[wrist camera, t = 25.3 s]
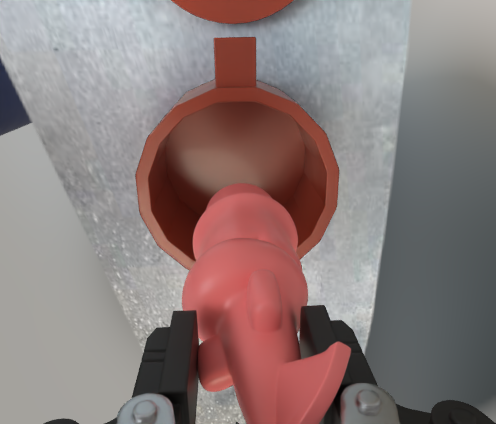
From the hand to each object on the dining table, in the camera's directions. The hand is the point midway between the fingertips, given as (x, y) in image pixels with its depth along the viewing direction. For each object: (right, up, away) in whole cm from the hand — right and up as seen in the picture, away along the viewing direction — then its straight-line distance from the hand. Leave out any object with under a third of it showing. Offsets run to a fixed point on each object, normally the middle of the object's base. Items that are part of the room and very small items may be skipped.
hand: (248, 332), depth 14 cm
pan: (-1, +8, +21) cm, 23 cm away
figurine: (0, +4, +10) cm, 10 cm away
